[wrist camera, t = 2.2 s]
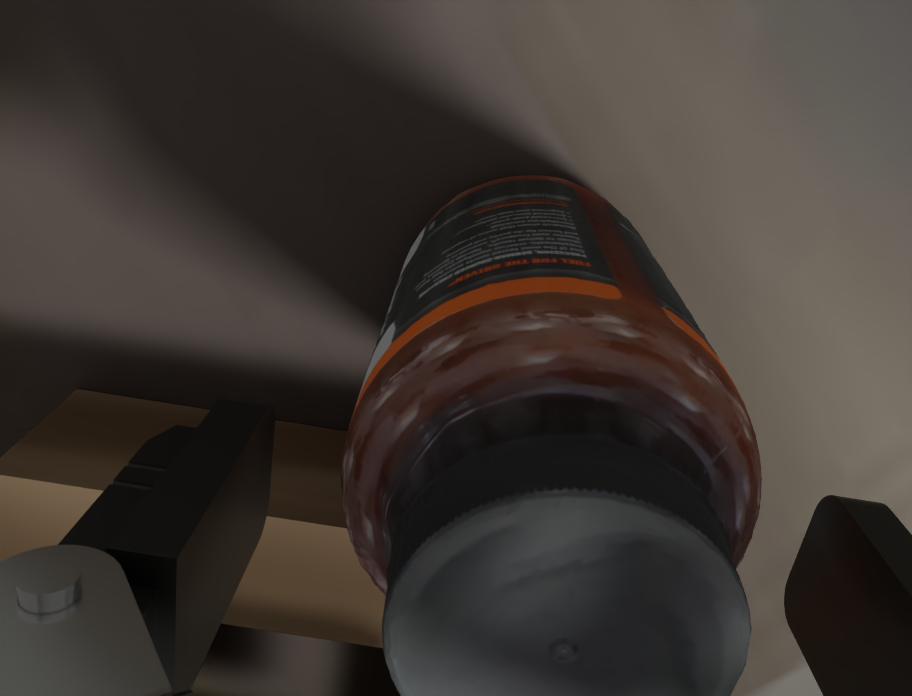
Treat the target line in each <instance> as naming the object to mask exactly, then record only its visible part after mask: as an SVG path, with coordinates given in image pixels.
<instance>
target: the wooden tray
mask: <svg viewBox="0 0 912 696" xmlns="http://www.w3.org/2000/svg"><path fill="white" fill-rule="evenodd" d="M209 411H210V410H209V409H202V408H196V407H189V406H183V405H177V404H170V403H164V402H157V401H151V400H145V399H138V398H132V397H126V396H119V395H113V394H106V393H100V392H94V391H87V390H81V389H76V390H75V391H74V392H73V393H72V394H71V395H70V396H69V397H67V398H66V399H65V400H64V401H63V402H62V403H61V404H60V405H59V406H57V407H56V408H55V409H54V410H53V411H52V412H51V413H50V414H48V415H47V416H46V417H45V418H44V419H43V420H42V421H41V422H39V423H38V424H37V425H36V426H35V427H34V428H33V429H32V430H30V431H29V432H28V433H27V434H26V435H25V436H24V437H23V438H21V439H20V440H19V441H18V442H17V443H16V444H15V445H14V446H13V447H11V448H10V449H9V450H8V451H7V452H6V453H5V454H4V455H2V456H1V457H0V562H2V561H4V560H6V559H8V558H10V557H12V556H14V555H17V554H20V553H22V552H25V551H28V550H32V549H36V548H40V547H46V546H53V545H58V544H59V543H60V541H61V540H62V539H63V538H64V537H65V536H66V534H67V533H68V532H69V531H70V530H71V529H72V527H73V526H74V525H75V524H76V523H77V522H78V520H79V519H80V518H81V517H82V516H83V515H84V513H85V512H86V511H87V510H88V509H89V508H90V506H91V505H92V504H93V503H94V502H95V500H96V499H97V498H98V497H99V496H100V495H101V493H102V492H103V491H104V490H105V489H106V488H107V486H108V485H109V484H113V480H114V478H115V477H116V476H117V475H118V474H119V472H120V471H121V470H122V469H123V468H124V467H125V466H128V464H129V461H130V460H131V458H132V457H133V456H134V455H135V454H136V452H137V451H138V450H139V449H140V448H141V447H142V445H143V444H144V443H145V442H146V441H147V440H149V439H150V438H152V437H154V436H156V435H158V434H160V433H162V432H164V431H166V430H168V429H170V428H171V427H173V426H175V425H183V426H189V427H195V428H197V427H198V426H199V424H200V423H201V422H202V421H203V419H204V418H205V417H206V415H207V414H208V413H209ZM347 432H348V431H343V430H336V429H330V428H324V427H317V426H311V425H304V424H298V423H292V422H285V421H279V420H275V430H274V444H273V458H272V471H271V485H270V498H269V506H268V512H267V517H266V521H265V525H264V529H263V532H262V535H261V538H260V540H259V542H258V545H257V547H256V549H255V551H254V553H253V555H252V558H251V560H250V562H249V564H248V566H247V568H246V571H245V573H244V575H243V577H242V579H241V581H240V583H239V586H238V588H237V590H236V592H235V594H234V596H233V599H232V601H231V603H230V605H229V607H228V609H227V612H226V614H225V616H224V618H223V620H222V622H221V624H227V625H234V626H240V627H247V628H254V629H260V630H267V631H273V632H280V633H286V634H293V635H299V636H306V637H313V638H319V639H326V640H332V641H339V642H345V643H352V644H359V645H365V646H372V647H378V648H383V640H382V620H383V613H384V606H385V599H386V597H385V596H384V594H383V593H382V592H381V591H380V590H379V589H378V588H377V587H376V586H375V585H374V583H373V582H372V580H371V578H370V576H369V575H368V574H367V572H366V571H365V570H364V569H363V568H362V567H361V565H360V562H359V559H358V557H357V555H356V553H355V551H354V547H353V544H352V543H351V541H350V537H349V533H348V530H347V527H346V520H345V517H344V513H343V505H342V490H341V465H342V457H343V449H344V443H345V440H346V436H347Z"/></svg>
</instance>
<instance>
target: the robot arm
mask: <svg viewBox="0 0 912 696" xmlns="http://www.w3.org/2000/svg"><path fill="white" fill-rule="evenodd" d="M274 430H275V409H274V406H273V405H269V404H263V403H256V402H250V401H244V400H238V399H231V398H225V397H221V398H220V399H219V400H218V401H217V402H216V403H215V405H214V406H213V407H212V409H211V410H210V411H209V413H208V414H207V415H206V417H205V418H204V419H203V421H202V422H201V423H200V424H199V426H198V427H197V428H195V427H189V426H183V425H175V426H173V427H171V428H170V429H168V430H166V431H164V432H162V433H160V434H158V435H156V436H154V437H152V438H150V439H149V440H147V441H146V442H145V443H144V444H143V445H142V447H141V448H140V449H139V450H138V451H137V452H136V454H135V455H134V456H133V457H132V458H131V460H130V461H129V464H128V466H125V467H124V468H123V469H122V470H121V471H120V472H119V474H118V475H117V476H116V477H115V478H114V480H113V484H109V485H108V486H107V488H106V489H105V490H104V491H103V492H102V493H101V495H100V496H99V497H98V498H97V499H96V500H95V502H94V503H93V504H92V505H91V506H90V508H89V509H88V510H87V511H86V512H85V513H84V515H83V516H82V517H81V518H80V519H79V520H78V522H77V523H76V524H75V525H74V526H73V527H72V529H71V530H70V531H69V532H68V533H67V534H66V536H65V537H64V538H63V539H62V540H61V541H60V543H59V544H58V545H53V546H46V547H40V548H36V549H32V550H28V551H25V552H22V553H20V554H17V555H14V556H12V557H10V558H8V559H6V560H4V561H2V562H0V696H196V695H195V694H194V693H193V692H192V691H191V690H190V689H191V687H192V685H193V683H194V681H195V678H196V676H197V674H198V672H199V670H200V668H201V665H202V663H203V661H204V659H205V657H206V655H207V653H208V650H209V648H210V646H211V644H212V642H213V640H214V637H215V635H216V633H217V631H218V629H219V627H220V624H221V622H222V620H223V618H224V616H225V614H226V612H227V609H228V607H229V605H230V603H231V601H232V599H233V596H234V594H235V592H236V590H237V588H238V586H239V583H240V581H241V579H242V577H243V575H244V573H245V571H246V568H247V566H248V564H249V562H250V560H251V558H252V555H253V553H254V551H255V549H256V547H257V545H258V542H259V540H260V538H261V535H262V532H263V529H264V525H265V521H266V517H267V512H268V506H269V498H270V485H271V471H272V458H273V444H274ZM784 607H785V614H786V619H787V622H788V625H789V627H790V629H791V631H792V633H793V635H794V637H795V639H796V641H797V643H798V645H799V647H800V649H801V651H802V653H803V655H804V657H805V659H806V661H807V663H808V665H809V667H810V669H811V671H812V673H813V675H814V677H815V679H816V681H817V683H818V685H819V687H820V689H821V692H822V693H823V696H912V535H911V534H910V532H909V531H908V530H907V529H906V528H905V526H904V525H903V524H902V523H901V522H900V520H899V519H898V518H897V517H896V516H895V514H894V513H893V512H892V511H891V510H890V509H889V508H888V507H887V506H886V505H885V504H882V503H878V502H871V501H865V500H859V499H852V498H846V497H840V496H834V495H828V496H826V497H824V498H823V499H822V500H821V501H820V502H819V504H818V505H817V507H816V509H815V511H814V514H813V516H812V519H811V521H810V524H809V526H808V529H807V532H806V534H805V537H804V539H803V542H802V544H801V547H800V549H799V552H798V554H797V557H796V559H795V562H794V564H793V567H792V569H791V572H790V575H789V577H788V580H787V583H786V588H785V596H784Z"/></svg>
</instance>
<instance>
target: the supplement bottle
mask: <svg viewBox="0 0 912 696" xmlns="http://www.w3.org/2000/svg"><path fill="white" fill-rule="evenodd" d="M761 480H762V478H761V464H760V456H759V450H758V445H757V440H756V435H755V432H754V430H753V426H752V423H751V420H750V417H749V415H748V413H747V410H746V407H745V404H744V402H743V400H742V398H741V396H740V394H739V392H738V390H737V388H736V386H735V385H734V383H733V381H732V379H731V378H730V376H729V374H728V373H727V371H726V369H725V368H724V366H723V365H722V363H721V362H720V360H719V358H718V356H717V354H716V352H715V351H714V350H713V348H712V347H711V345H710V344H709V343H708V341H707V339H706V337H705V335H704V334H703V333H702V331H701V330H700V328H699V327H698V325H697V324H696V322H695V320H694V319H693V316H692V315H691V313H690V312H689V310H688V309H687V307H686V306H685V304H684V302H683V301H682V299H681V298H680V296H679V294H678V293H677V291H676V290H675V288H674V287H673V285H672V284H671V282H670V281H669V280H668V278H667V276H666V275H665V273H664V271H663V269H662V268H661V266H660V265H659V264H658V262H657V261H656V259H655V257H654V256H653V254H652V253H651V251H650V250H649V248H648V247H647V245H646V244H645V242H644V241H643V239H642V237H641V236H640V234H639V233H638V231H637V230H636V229H635V228H634V227H633V225H632V224H631V223H630V221H629V220H628V219H626V218H625V217H624V216H623V215H622V214H621V213H620V212H619V211H618V210H617V209H616V208H615V207H614V206H612V205H611V204H610V203H609V202H608V201H607V200H605V199H604V198H602V197H601V196H599V195H597V194H596V193H594V192H592V191H591V190H589V189H587V188H585V187H582V186H580V185H577V184H575V183H573V182H570V181H567V180H565V179H561V178H556V177H551V176H544V175H521V176H510V177H503V178H499V179H495V180H491V181H488V182H486V183H483V184H480V185H478V186H475V187H473V188H470V189H468V190H466V191H464V192H462V193H460V194H459V195H457V196H456V197H455V198H453V199H452V200H451V201H449V202H448V203H447V204H446V205H444V206H443V207H442V208H441V209H440V210H438V211H437V213H436V214H435V215H434V216H433V217H432V218H431V220H430V221H429V222H428V223H427V224H426V225H425V227H424V228H423V230H422V231H421V232H420V233H419V235H418V237H417V239H416V240H415V242H414V244H413V245H412V247H411V249H410V251H409V253H408V255H407V258H406V260H405V262H404V265H403V268H402V271H401V274H400V277H399V280H398V283H397V285H396V288H395V291H394V294H393V297H392V300H391V303H390V305H389V308H388V312H387V314H386V317H385V320H384V323H383V326H382V330H381V333H380V336H379V338H378V341H377V344H376V347H375V349H374V352H373V355H372V358H371V360H370V363H369V367H368V370H367V373H366V376H365V379H364V382H363V385H362V388H361V391H360V394H359V397H358V400H357V403H356V407H355V410H354V412H353V416H352V419H351V422H350V425H349V428H348V432H347V436H346V440H345V443H344V449H343V457H342V465H341V490H342V505H343V513H344V517H345V520H346V527H347V530H348V533H349V537H350V541H351V543H352V544H353V547H354V551H355V553H356V555H357V557H358V559H359V562H360V565H361V567H362V568H363V569H364V570H365V571H366V572H367V574H368V575H369V576H370V578H371V580H372V582H373V583H374V585H375V586H376V587H377V588H378V589H379V590H380V591H381V592H382V593H383V594H384V596H385V597H386V599H385V606H384V613H383V620H382V640H383V651H384V656H385V660H386V663H387V666H388V669H389V672H390V676H391V679H392V680H393V682H394V684H395V686H396V689H397V691H398V692H399V694H400V695H401V696H730V695H731V693H732V691H733V689H734V687H735V685H736V683H737V681H738V679H739V677H740V675H741V674H742V672H743V669H744V667H745V665H746V659H747V652H748V646H749V640H750V634H751V622H750V611H749V606H748V602H747V599H746V595H745V592H744V589H743V586H742V583H741V580H740V578H739V575H738V573H737V571H736V568H737V567H738V565H739V564H740V562H741V561H742V559H743V557H744V553H745V551H746V549H747V547H748V544H749V542H750V540H751V538H752V534H753V529H754V526H755V524H756V521H757V518H758V514H759V509H760V500H761Z"/></svg>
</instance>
